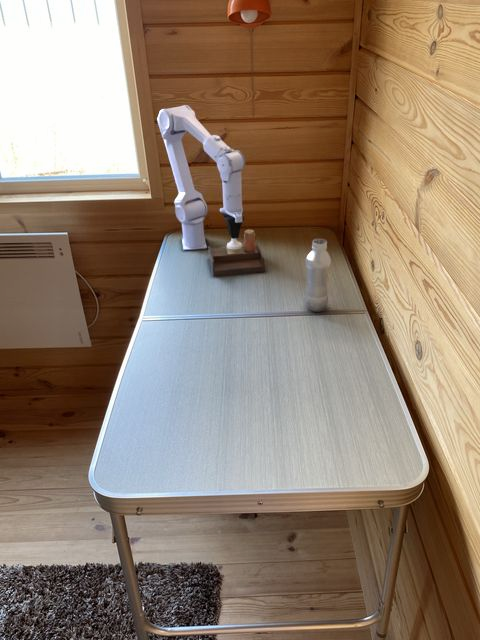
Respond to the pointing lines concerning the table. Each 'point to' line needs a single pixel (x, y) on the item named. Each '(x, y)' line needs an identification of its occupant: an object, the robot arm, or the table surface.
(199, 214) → the robot arm
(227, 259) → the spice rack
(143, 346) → the table surface
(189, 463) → the table surface
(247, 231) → the spice pot
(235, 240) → the chess piece
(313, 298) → the plastic bottle
